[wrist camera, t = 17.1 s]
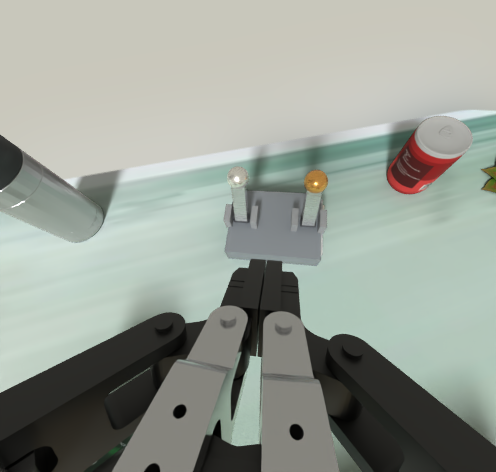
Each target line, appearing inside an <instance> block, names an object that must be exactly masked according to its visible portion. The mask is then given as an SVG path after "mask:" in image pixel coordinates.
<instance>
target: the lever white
mask: <svg viewBox="0 0 496 472" xmlns="http://www.w3.org/2000/svg"><path fill="white" fill-rule="evenodd" d="M227 180H228V183H229V185H230V186H231V191H232V198H233V206H234V222H239V223H249V220H250V213H248V198H247V184H248V182H249V174H248V172H247V171H246V169H244V168H242V167H234V168H232V169H231V170H230V171H229V172H228V175H227Z"/></svg>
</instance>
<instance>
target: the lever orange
mask: <svg viewBox="0 0 496 472" xmlns="http://www.w3.org/2000/svg"><path fill="white" fill-rule="evenodd" d="M327 184H328V178H327V175H326V174H325V173H324V172H323V171H321V170H313V171H311V172H309V173H308V174H307V175H306V177H305V179H304V186H305V188H306V195H305V201H304V207H303V213H302V216H301V217H300V227H314V228H315V227H316V217H317V213H318V208H319V204H320V200H321V195H322V191H323V190H324V189H325V188H326V187H327Z"/></svg>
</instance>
